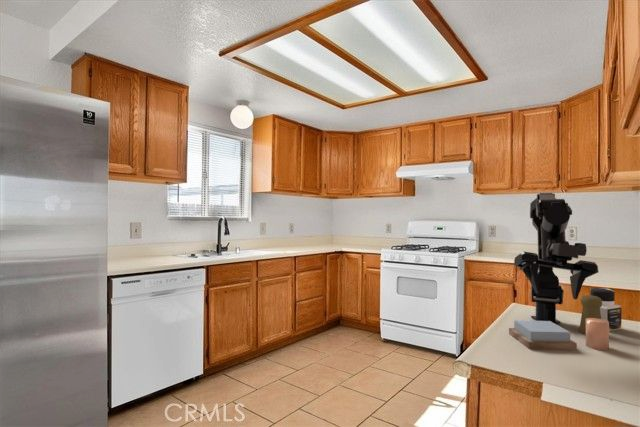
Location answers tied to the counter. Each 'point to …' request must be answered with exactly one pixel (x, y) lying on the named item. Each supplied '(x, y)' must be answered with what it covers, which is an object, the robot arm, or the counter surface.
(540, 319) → the robot arm
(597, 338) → the terracotta cylinder
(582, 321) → the olive green tapered piece
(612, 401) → the counter surface
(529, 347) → the walnut slab
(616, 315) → the medicine bottle
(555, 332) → the slate slab
